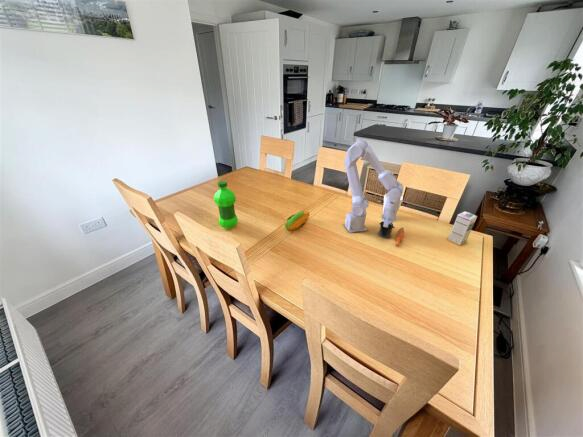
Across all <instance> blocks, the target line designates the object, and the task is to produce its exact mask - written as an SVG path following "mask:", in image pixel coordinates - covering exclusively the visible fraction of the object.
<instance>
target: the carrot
mask: <svg viewBox="0 0 583 437" xmlns="http://www.w3.org/2000/svg"><path fill="white" fill-rule="evenodd" d="M404 235H405V229H404V227H400V229H399V230H398V231H397V235H396V242H395V246H397V247H399V246H400V244H401V242H402V241H403V238H404Z"/></svg>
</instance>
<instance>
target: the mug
mask: <svg viewBox="0 0 583 437" xmlns="http://www.w3.org/2000/svg"><path fill="white" fill-rule="evenodd" d="M382 222H384V221H383V220H382ZM380 223H381V222H379V223H378V225H379V231H378V236H379V237H381V238H383V239H389V238H391V236H392V231H393V229H395V228H396V226H394V224H393V222H392V223H390V225H393V227H392V228H391V229H390V230H389V232H388V234H387V235H386V236H383V235H382V230H381V226H380Z"/></svg>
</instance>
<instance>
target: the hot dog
mask: <svg viewBox="0 0 583 437" xmlns="http://www.w3.org/2000/svg"><path fill="white" fill-rule="evenodd" d="M309 217H310V212H309V211H307V210H305V211H304V210H303V211H299V212H297V213H295V214H292V215H290V216H289V217H287V219H286V220H285V223H284V227H285V229H286V231H289V232H294V231H295V232H296V231H298V230H299V229H300V228H301V227H303V226H304V225H305V224H306V221H307V220H308V218H309Z"/></svg>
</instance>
